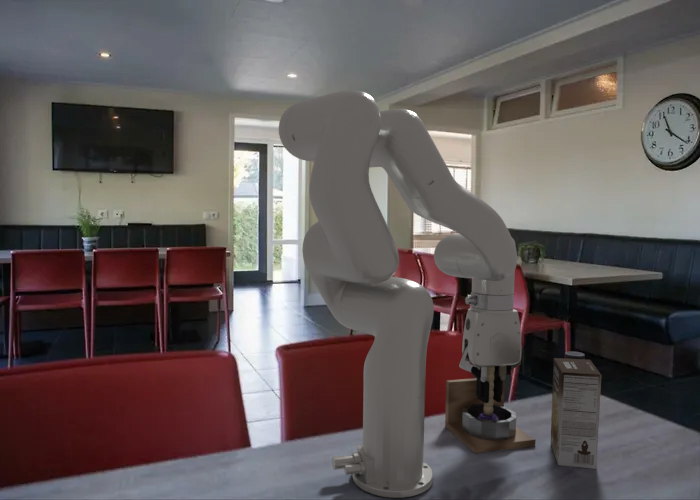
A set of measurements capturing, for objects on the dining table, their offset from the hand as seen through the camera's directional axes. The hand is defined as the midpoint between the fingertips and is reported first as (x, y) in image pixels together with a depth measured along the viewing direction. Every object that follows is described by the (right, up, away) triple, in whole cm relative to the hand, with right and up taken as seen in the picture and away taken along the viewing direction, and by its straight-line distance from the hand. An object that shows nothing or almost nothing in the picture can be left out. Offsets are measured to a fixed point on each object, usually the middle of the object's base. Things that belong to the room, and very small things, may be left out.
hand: (489, 399), depth 102 cm
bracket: (0, -7, +1) cm, 7 cm away
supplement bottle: (+23, -6, +18) cm, 30 cm away
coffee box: (+13, -8, -7) cm, 17 cm away
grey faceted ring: (0, -6, +1) cm, 6 cm away
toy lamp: (0, -5, 0) cm, 5 cm away
